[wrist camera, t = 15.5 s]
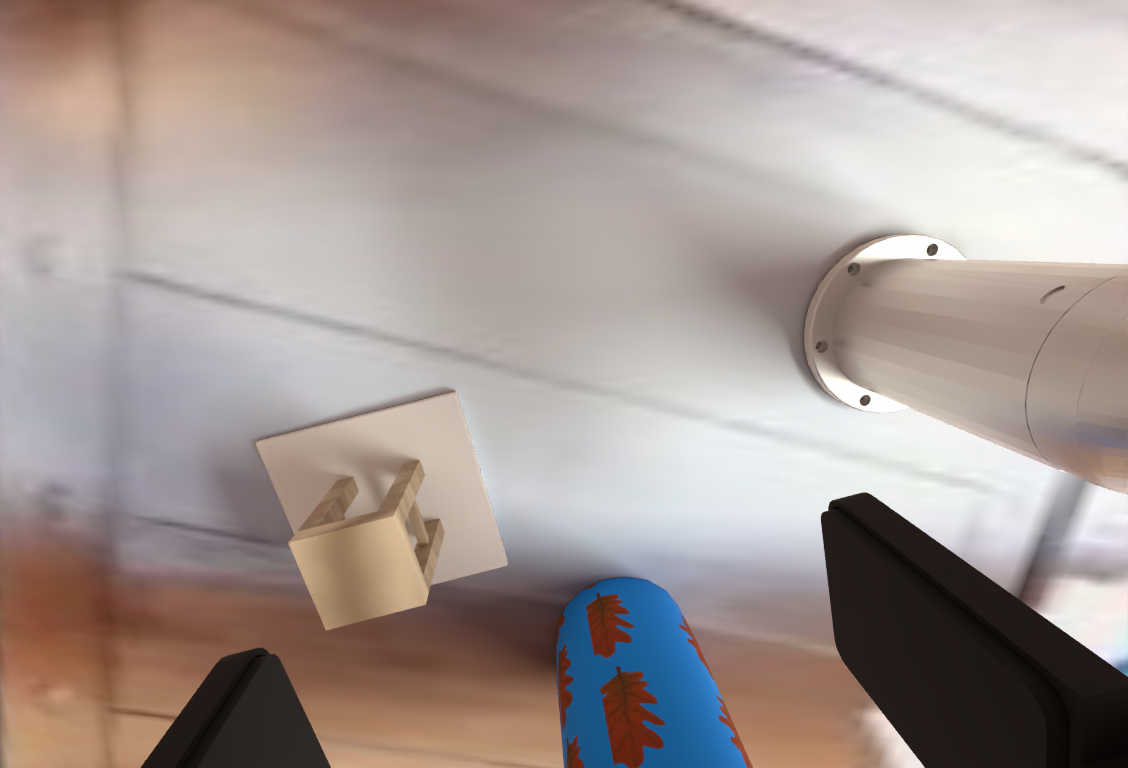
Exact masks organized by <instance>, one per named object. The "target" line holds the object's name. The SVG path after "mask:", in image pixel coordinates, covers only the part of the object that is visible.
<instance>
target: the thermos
mask: <svg viewBox="0 0 1128 768" xmlns="http://www.w3.org/2000/svg"><path fill="white" fill-rule="evenodd" d="M556 646H557V686H558V698H559V710H560V722H561V734H562V746H563V758H564V768H753V767H752V765H751V762H750V760H749V758H748V756H747V753H746V751H745V749H744V747H743V744H742V742H741V740H740V738H739V735H738V733H737V731H736V729H735V726H734V724H733V722H732V720H731V717H730V715H729V713H728V711H727V708H726V706H725V704H724V702H723V699H722V697H721V695H720V693H719V690H718V688H717V686H716V684H715V681H714V679H713V677H712V675H711V672H710V670H709V668H708V666H707V663H706V661H705V659H704V657H703V654H702V652H701V650H700V648H699V645H698V643H697V641H696V639H695V637H694V635H693V633H692V631H691V629H690V627H689V626H688V624H687V622H686V620H685V618H684V616H683V614H682V612H681V611H680V609H679V607H678V605H677V604H676V603H675V601H674V600H673V599H672V598H671V596H670V595H669V594H668V593H667V591H665V590H664V589H662V588H660V587H658V586H657V585H655V584H653V583H652V582H650V581H647V580H641V579H636V578H630V577H622V578H615V579H607V580H603V581H601V582H599V583H597V584H594V585H592V586H590V587H588V588H586V589H584V590H582V591H581V592H580V593H579V594H578V595H577V596H576V597H575V598H574V599H573V600H572V601H571V602H570V603H568V604H567V606H566V608H565V610H564V612H563V614H562V616H561V618H560V620H559V622H558V630H557V641H556Z"/></svg>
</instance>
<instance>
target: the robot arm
mask: <svg viewBox="0 0 1128 768" xmlns="http://www.w3.org/2000/svg"><path fill="white" fill-rule="evenodd" d="M848 267H849V270H848ZM817 343H818V345H817ZM816 345H817V347H816ZM804 347H805V354H806V358H807V361H808V365H809V367H810V369H811V371H812V373H813V375H814V377H815V379H816V381H817V382H818V383H819V384H820V385H821V387H822V388H823V389H824V390H825V391H826V392H827V393H828V394H830V395H831V396H832V397H834V398H835V399H836V400H838V401H840V402H842V403H844V404H846V405H848V406H850V407H853V408H855V409H858V410H861V411H867V412H874V413H886V412H896V411H900V410H904V409H908V408H911V409H914V410H916V411H919V412H921V413H923V414H926V415H928V416H931V417H933V418H935V419H938V420H940V421H942V422H945V423H947V424H950V425H952V426H954V427H957V428H959V429H962V430H964V431H966V432H969V433H971V434H974V435H976V436H978V437H981V438H983V439H986V440H988V441H990V442H993V443H995V444H998V445H1000V446H1002V447H1005V448H1007V449H1010V450H1012V451H1014V452H1017V453H1019V454H1022V455H1024V456H1026V457H1029V458H1031V459H1033V460H1036V461H1038V462H1041V463H1043V464H1046V465H1048V466H1050V467H1053V468H1055V469H1058V470H1060V471H1063V472H1066V473H1068V474H1070V475H1073V476H1075V477H1078V478H1080V479H1083V480H1085V481H1087V482H1090V483H1092V484H1095V485H1098V486H1101V487H1104V488H1107V489H1109V490H1113V491H1116V492H1120V493H1125V494H1128V265H1125V264H1093V263H1061V262H1028V261H996V260H967V259H966V258H965V257H964V256H963V255H962V254H961V253H960V252H959V251H958V250H956V249H955V248H954V247H953V246H951V245H949V244H947V243H946V242H944V241H942V240H940V239H937V238H933V237H930V236H926V235H916V234H901V235H890V236H886V237H882V238H878V239H874V240H872V241H870V242H867V243H865V244H863V245H861V246H859V247H857V248H856V249H854V250H853V251H851V252H850V253H848V254H847V255H846V256H844V257H843V258H842V259H841V260H840V261H839V262H838V263H837V264H836V265H835V266H834V267H833V268H832V269H831V270H830V271H829V272H828V273H827V275H826V276H825V278H824V279H823V280H822V282H821V283H820V284H819V286H818V288H817V290H816V292H815V294H814V296H813V298H812V300H811V302H810V306H809V309H808V312H807V315H806V320H805V328H804ZM821 525H822V534H823V542H824V551H825V560H826V568H827V577H828V586H829V594H830V603H831V612H832V620H833V629H834V638H835V643H836V647H837V650H838V652H839V654H840V656H841V658H842V660H843V662H844V663H845V665H846V666H847V667H848V669H849V670H850V671H851V673H852V674H853V675H854V676H855V678H856V679H857V680H858V682H859V683H860V684H861V686H862V687H863V688H864V689H865V691H866V692H867V693H868V695H869V696H870V697H871V698H872V700H873V701H874V702H875V704H876V705H877V706H878V707H879V709H880V710H881V711H882V713H883V714H884V715H885V717H886V718H887V719H888V720H889V722H890V723H891V724H892V726H893V727H894V728H895V729H896V731H897V732H898V733H899V735H900V736H901V737H902V738H903V740H904V741H905V742H906V744H907V745H908V746H909V747H910V749H911V750H912V751H913V753H914V754H915V755H916V757H917V758H918V759H919V760H920V762H921V763H922V764H923V766H924V767H925V768H1128V677H1127V676H1126V675H1124V674H1123V673H1121V672H1120V671H1119V670H1117V669H1116V668H1114V667H1113V666H1112V665H1110V664H1109V663H1107V662H1106V661H1105V660H1103V659H1102V658H1100V657H1099V656H1098V655H1096V654H1095V653H1093V652H1092V651H1091V650H1089V649H1088V648H1086V647H1085V646H1083V645H1082V644H1081V643H1079V642H1078V641H1076V640H1075V639H1074V638H1072V637H1071V636H1069V635H1068V634H1067V633H1065V632H1064V631H1062V630H1061V629H1060V628H1058V627H1057V626H1055V625H1054V624H1053V623H1051V622H1050V621H1048V620H1047V619H1045V618H1044V617H1043V616H1041V615H1040V614H1038V613H1037V612H1036V611H1034V610H1033V609H1031V608H1030V607H1029V606H1027V605H1026V604H1024V603H1023V602H1022V601H1020V600H1019V599H1017V598H1016V597H1015V596H1013V595H1012V594H1010V593H1009V592H1007V591H1006V590H1005V589H1003V588H1002V587H1000V586H999V585H998V584H996V583H995V582H993V581H992V580H991V579H989V578H988V577H986V576H985V575H984V574H982V573H981V572H979V571H978V570H977V569H975V568H974V567H972V566H971V565H969V564H968V563H967V562H965V561H964V560H962V559H961V558H960V557H958V556H957V555H955V554H954V553H953V552H951V551H950V550H948V549H947V548H946V547H944V546H943V545H941V544H940V543H939V542H937V541H936V540H934V539H933V538H931V537H930V536H929V535H927V534H926V533H924V532H923V531H922V530H920V529H919V528H917V527H916V526H915V525H913V524H912V523H910V522H909V521H908V520H906V519H905V518H903V517H902V516H901V515H899V514H898V513H896V512H895V511H893V510H892V509H891V508H889V507H888V506H886V505H885V504H884V503H882V502H881V501H879V500H878V499H877V498H875V497H874V496H872V495H871V494H869V493H859V494H855V495H852V496H848V497H844V498H840V499H836V500H832V501H831V502H830V504H829V507H828V511H826V512H823V513H822V515H821ZM141 768H331V767H330V765H329V762H328V760H327V758H326V756H325V754H324V752H323V750H322V748H321V745H320V743H319V741H318V739H317V737H316V735H315V733H314V731H313V728H312V726H311V724H310V722H309V720H308V718H307V716H306V714H305V712H304V709H303V707H302V705H301V703H300V701H299V699H298V697H297V695H296V692H295V690H294V688H293V686H292V684H291V682H290V680H289V678H288V675H287V673H286V671H285V669H284V667H283V665H282V663H281V661H280V659H279V657H278V656H276V655H275V654H269V652H268V651H267V650H265V649H264V648H256V649H252V650H248V651H244V652H240V653H236V654H232V655H228V656H225V657H223V658H221V659H220V660H219V661H218V662H217V663H216V665H215V666H214V668H213V669H212V670H211V672H210V673H209V674H208V676H207V677H206V679H205V680H204V681H203V683H202V684H201V685H200V687H199V688H198V689H197V691H196V692H195V694H194V695H193V696H192V698H191V699H190V700H189V702H188V703H187V705H186V706H185V707H184V709H183V710H182V711H181V713H180V714H179V716H178V717H177V718H176V720H175V721H174V722H173V724H172V725H171V727H170V728H169V729H168V731H167V732H166V733H165V735H164V736H163V738H162V739H161V740H160V742H159V743H158V744H157V746H156V747H155V749H154V750H153V751H152V753H151V754H150V755H149V757H148V758H147V760H146V761H145V762H144V764H143V765H142V766H141Z"/></svg>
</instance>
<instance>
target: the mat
mask: <svg viewBox="0 0 1128 768" xmlns="http://www.w3.org/2000/svg"><path fill="white" fill-rule="evenodd" d="M255 444H256V447H257V449H258V451H259V454H260V456H261V458H262V461H263V463H264V465H265V468H266V470H267V472H268V475H269V477H270V479H271V482H272V484H273V486H274V489H275V491H276V493H277V496H278V498H279V500H280V503H281V505H282V507H283V510H284V512H285V514H286V517H287V519H288V521H289V524H290V526H291V528H292V531H293V533H294V535H295V534H296V532H297V531H298V530H299V528H300V527H301V526H302V525H303V523H304V522H305V521H306V519H307V518H308V517H309V516H310V514H311V513H312V512H313V511H314V509H315V508H316V507H317V505H318V504H319V503H320V502H321V500H322V499H323V498H324V496H325V495H326V494H327V493H328V491H329V490H330V489H331V488H332V486H333V485H334V484H335V482H336V481H338V480H342V479H346V478H350V477H354V479H355V482H356V485H357V487H358V490H359V493H358V494H357V496H356V497H355V499H354V500H353V502H352V503H351V505H350V506H349V508H348V509H347V511H346V512H345V514H344V516H345V519H349V518H353V517H357V516H360V515H364V514H368V513H372V512H376V511H378V510H379V508H380V506H381V504H382V503H383V501H384V499H385V497H386V495H387V493H388V491H389V490H390V488H391V486H392V484H393V482H394V480H395V478H396V477H397V475H398V473H399V471H400V469H401V467H402V465H403V464H405V463H409V462H413V461H417V460H420V462H421V464H422V467H423V470H424V473H425V476H424V479H423V481H422V483H421V486H420V488H419V491H418V493H417V495H416V498H415V499H416V502H417V505H418V508H419V511H420V514H421V516H422V519H423V522H424V523H425V522H429V521H433V520H437V519H440V521H441V523H442V526H443V529H444V532H445V534H444V537H443V541H442V545H441V549H440V553H439V556H438V560H437V564H436V568H435V571H434V575H433V579H432V583H431V585H434V584H438V583H442V582H446V581H450V580H454V579H457V578H461V577H465V576H469V575H473V574H477V573H481V572H485V571H489V570H493V569H497V568H500V567H504V566H508V559H507V556H506V552H505V549H504V546H503V543H502V539H501V536H500V533H499V530H498V526H497V523H496V520H495V517H494V513H493V510H492V507H491V503H490V500H489V497H488V494H487V490H486V487H485V484H484V481H483V477H482V474H481V471H480V468H479V464H478V461H477V458H476V454H475V451H474V448H473V445H472V441H471V438H470V435H469V432H468V428H467V425H466V422H465V419H464V415H463V412H462V409H461V405H460V402H459V399H458V396H457V392H456V391H454V392H450V393H446V394H442V395H438V396H434V397H430V398H426V399H422V400H418V401H414V402H410V403H406V404H402V405H398V406H394V407H390V408H386V409H382V410H378V411H374V412H370V413H366V414H362V415H358V416H354V417H350V418H346V419H342V420H338V421H334V422H330V423H326V424H322V425H318V426H314V427H310V428H306V429H302V430H298V431H294V432H290V433H286V434H282V435H278V436H274V437H270V438H266V439H262V440H259V441H258V442H256V443H255ZM405 526H406V529H407V532H408V535H409V537H410V540H411V543H412V546H413V549H414V550H415V547H416V544H417V539H416V536H415V533H414V530H413V527H412V525H411V522H410V519H409V516H408V517H407V519H406V522H405Z"/></svg>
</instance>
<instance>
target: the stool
mask: <svg viewBox="0 0 1128 768" xmlns="http://www.w3.org/2000/svg"><path fill="white" fill-rule="evenodd" d="M424 476H425V473H424V470H423V467H422V464H421V462H420V460H417V461H413V462H409V463H405V464H403V465H402V467H401V469H400V471H399V473H398V475H397V477H396V478H395V480H394V482H393V484H392V486H391V488H390V490H389V491H388V493H387V495H386V497H385V499H384V501H383V503H382V504H381V506H380V508H379V510H378V511H376V512H372V513H368V514H364V515H360V516H357V517H353V518H349V519H345V516H344V514H345V512H346V511H347V509H348V508H349V506H350V505H351V503H352V502H353V500H354V499H355V497H356V496H357V494H358V493H359V490H358V487H357V485H356V482H355V479H354V477H350V478H346V479H342V480H338V481H336V482H335V484H334V485H333V486H332V488H331V489H330V490H329V491H328V493H327V494H326V495H325V496H324V498H323V499H322V500H321V502H320V503H319V504H318V505H317V507H316V508H315V509H314V511H313V512H312V513H311V514H310V516H309V517H308V518H307V519H306V521H305V522H304V523H303V525H302V526H301V527H300V528H299V530H298V531H297V532H296V534H295V535H294V536H293V537H292V539H291V540H290V541H289V542H288V544H289V546H290V548H291V551H292V553H293V555H294V558H295V560H296V562H297V565H298V567H299V569H300V571H301V574H302V576H303V578H304V581H305V583H306V585H307V588H308V590H309V592H310V595H311V597H312V599H313V601H314V604H315V606H316V608H317V611H318V613H319V615H320V618H321V620H322V622H323V624H324V627H325V629H326V630H330V629H333V628H337V627H341V626H345V625H349V624H353V623H357V622H361V621H365V620H368V619H372V618H376V617H380V616H384V615H388V614H392V613H396V612H400V611H403V610H407V609H411V608H415V607H419V606H423V605H426V602H427V598H428V594H429V590H430V587H431V583H432V579H433V575H434V571H435V568H436V564H437V560H438V556H439V553H440V549H441V545H442V541H443V537H444V534H445V532H444V529H443V526H442V523H441V521H440V519H437V520H433V521H429V522H425V523H424V522H423V519H422V516H421V514H420V511H419V508H418V505H417V502H416V499H415V498H416V495H417V493H418V491H419V488H420V486H421V483H422V481H423V479H424ZM408 516H409V519H410V522H411V525H412V527H413V530H414V533H415V536H416V539H417V544H416V547H415V550H414V549H413V546H412V543H411V540H410V537H409V535H408V532H407V529H406V526H405V522H406V519H407V517H408Z"/></svg>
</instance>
